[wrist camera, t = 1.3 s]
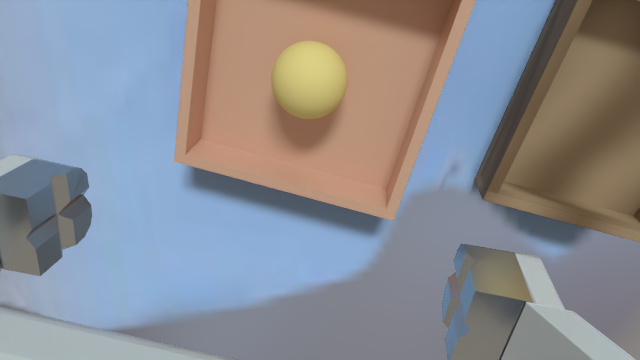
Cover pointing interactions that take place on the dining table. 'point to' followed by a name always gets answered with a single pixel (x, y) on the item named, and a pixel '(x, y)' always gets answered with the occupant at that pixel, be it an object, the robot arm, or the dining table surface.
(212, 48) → the dish
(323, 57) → the ball
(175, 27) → the dining table surface
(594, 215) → the tray
